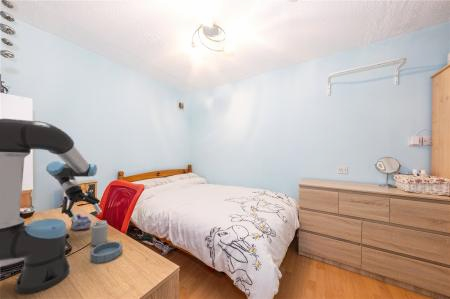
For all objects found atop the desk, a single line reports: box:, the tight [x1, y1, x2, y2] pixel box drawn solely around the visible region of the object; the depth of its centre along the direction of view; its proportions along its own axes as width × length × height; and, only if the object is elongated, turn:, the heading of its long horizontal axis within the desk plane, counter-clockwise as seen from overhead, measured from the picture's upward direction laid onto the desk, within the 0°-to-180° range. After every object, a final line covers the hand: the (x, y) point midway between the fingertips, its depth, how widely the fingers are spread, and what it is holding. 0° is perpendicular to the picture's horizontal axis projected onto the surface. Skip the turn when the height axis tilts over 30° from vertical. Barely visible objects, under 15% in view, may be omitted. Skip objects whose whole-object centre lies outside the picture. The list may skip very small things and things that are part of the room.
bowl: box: [89, 240, 123, 264], centre depth 88 cm, size 13×13×4 cm
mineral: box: [70, 213, 92, 231], centre depth 116 cm, size 14×10×10 cm
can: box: [90, 219, 109, 247], centre depth 99 cm, size 8×8×12 cm
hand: (88, 216), depth 102 cm, fingers open, 13 cm apart
